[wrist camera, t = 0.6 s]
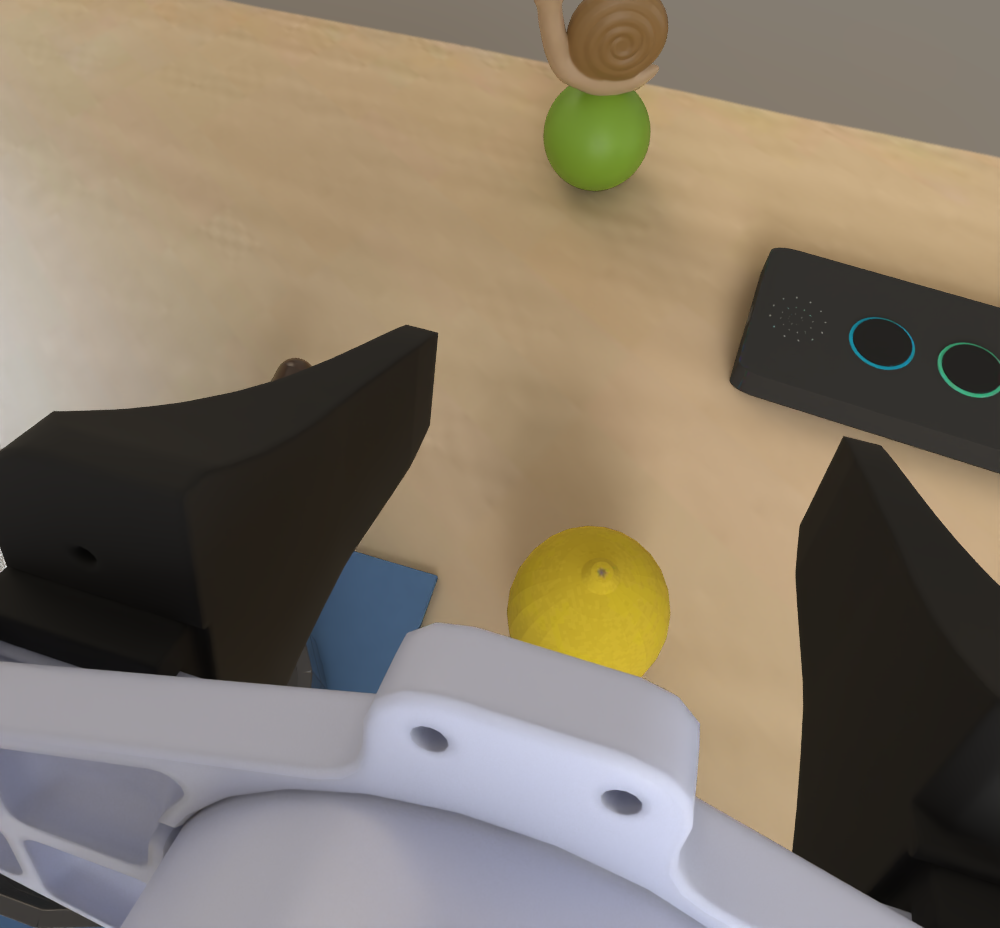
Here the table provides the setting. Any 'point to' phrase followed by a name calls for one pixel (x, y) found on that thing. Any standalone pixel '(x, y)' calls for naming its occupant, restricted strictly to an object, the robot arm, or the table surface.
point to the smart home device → (875, 355)
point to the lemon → (592, 599)
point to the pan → (62, 924)
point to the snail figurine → (600, 87)
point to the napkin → (361, 627)
